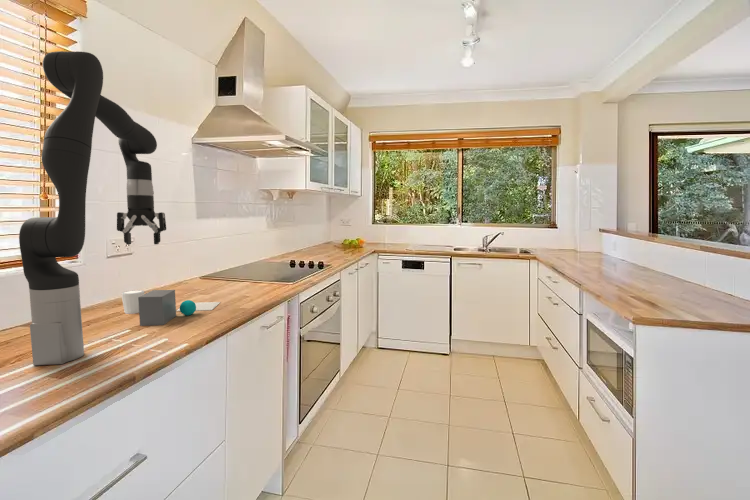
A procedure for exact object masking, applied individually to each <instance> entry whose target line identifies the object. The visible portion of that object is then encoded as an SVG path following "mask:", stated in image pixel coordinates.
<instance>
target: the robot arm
mask: <svg viewBox="0 0 750 500" xmlns="http://www.w3.org/2000/svg"><path fill="white" fill-rule="evenodd" d="M42 69H43V73H44V75H45V77H46V79H47V81H49V83H50V84H51V85H52V86H53V87H54V88H55V89H57V90H58V91H59V92H60V93H62V94H63V95H65V96H66V97H67V98H70V100H69V103H68V104H67V106H65V108H64V109H63V110H62V111H61V113H59V114H58V116H57V117H55V119H54V120H53V121H52V122H51V124H50V125H49V126H48V128H47V129H46V130H45V133H44V138H43V143H42V151H41V163H42V166H43V168H44V170H45V172H46V174H47V176H48V178H49V180H50V181H51V182H52V184H53V186H54V188H55V189H56V192H57V196H58V213H57V216H55V217H54V216H53V217H51V216H50V217H48V216H47V217H46V216H45V217H43V216H41V217H39V216H37V217H31V218H28V219H26V220H25V221H23V223H22V225H21V227H20V228H19V229H20V230H19V234H18V244H19V250H20V255H21V256H20V257H21V263H22V269H23V274H24V277H25V279H26V281H27V282H28V283H27V284H28V292H29V302H30V303H29V304H30V316H31V323H30V324H29V333H30V341H31V342H30V343H31V354H32V365H33V366H46V365H63V364H65V363H68V362H71V361H74V360H77V359H80V358H81V357H83V356H84V355H85V349H84V348H85V347H84V345H85V344H84V335H83V334H84V333H83V320H82V305H81V294H80V279H79V274H78V272H76V271H74V270H71V269H68V268H66V267H64V266H62V265H61V264H60V263H59V262H58V261H57V258H72V257H73V258H74V257H77V256H78V255H79V254H81V251H82V250H83V247H84V244H85V239H86V205H87V204H86V199H87V185H88V178H89V176H88V175H89V170H90V164H91V163H90V162H91V156H92V146H93V145H92V144H93V136H94V135H93V134H94V128H95V121H96V120H95V119H98V120H99V121H100V122H101V124H103V125H104V126H105V127H106V128H107V129H108V130H109V131H110V132H111V133H112V134H113V135H114V136H115V137H116V138H118V145H119V149H120V152H121V154H122V155H121V156H122V157H123V160H124V164H125V168H126V180H127V181H126V202H127V212H119V211H118V212H117V213H116V231H118V232H120V233H121V232H122V233H123V242H124V243H125V244H126V245H132V233H131V231H132V230H133V229H134V228H135V227H137V226H138V227H139V226H140V227H141V226H143V227H145V226H146V227H149V228H150V229H151V230H152V231H153V244H154V245H159V244H160V242H161V233H162V232H165V231H167V222H166V213H165V212H155V198H154V197H155V196H154V195H155V194H154V193H155V192H154V186H153V175H152V173H153V171H152V165H151V164H150V163H149V162H147V161H142V160H139V159H138V156H137V155H150V154H153V153H155V151H156V150H157V148H158V143H157V139H156V137H155V136H154V134H153V133H152V132H151V130H150V131H149V130H148V129H147V128H145V127H144V126H142V124H140V123H138V122H136V121H134V119H133V118H132V117H131V116H130V115H129V114H128V113H127V111H126V110H125V109H124V108H123V107H122V106H120V105H119V104H118V103H116V102H114V101H112V100H110V99H109V98H107V97H106V96H104V95H102V91H103V87H104V86H103V85H104V71H103V67H102V64H101V61H100V59H98V57H97V56H96V55H94V54H93V53H91V52H87V51H67V50H66V51H63V50H61V51H60V50H57V51H50V52H48V53H46V54H45V55H44V57H43V59H42ZM127 218H128V220H129V221H128V222H127V223H126V225H125V220H126V219H127ZM154 219H157V220H158V224H159V225H158V224H157V223H156V221H154Z"/></svg>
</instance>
